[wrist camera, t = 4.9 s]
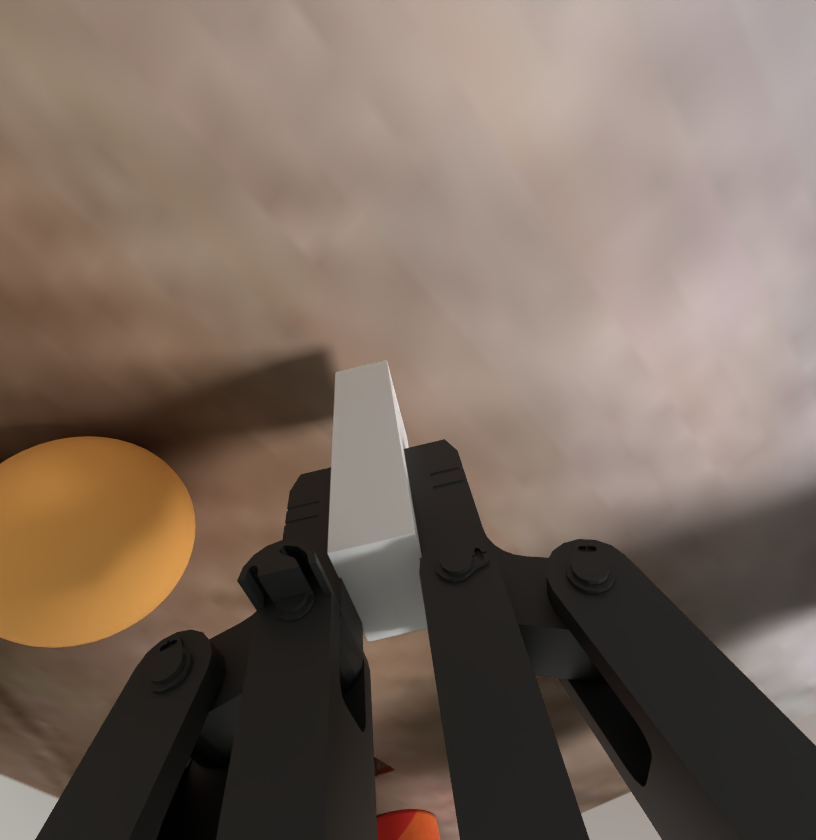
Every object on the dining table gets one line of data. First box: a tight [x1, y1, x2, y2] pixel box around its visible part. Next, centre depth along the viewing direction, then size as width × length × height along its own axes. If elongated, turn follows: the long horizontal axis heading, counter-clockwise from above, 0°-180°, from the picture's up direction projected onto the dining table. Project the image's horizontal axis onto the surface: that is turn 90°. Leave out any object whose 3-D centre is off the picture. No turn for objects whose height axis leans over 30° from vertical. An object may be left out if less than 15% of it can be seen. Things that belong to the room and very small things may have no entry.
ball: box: [0, 436, 196, 648], centre depth 14 cm, size 6×6×6 cm
